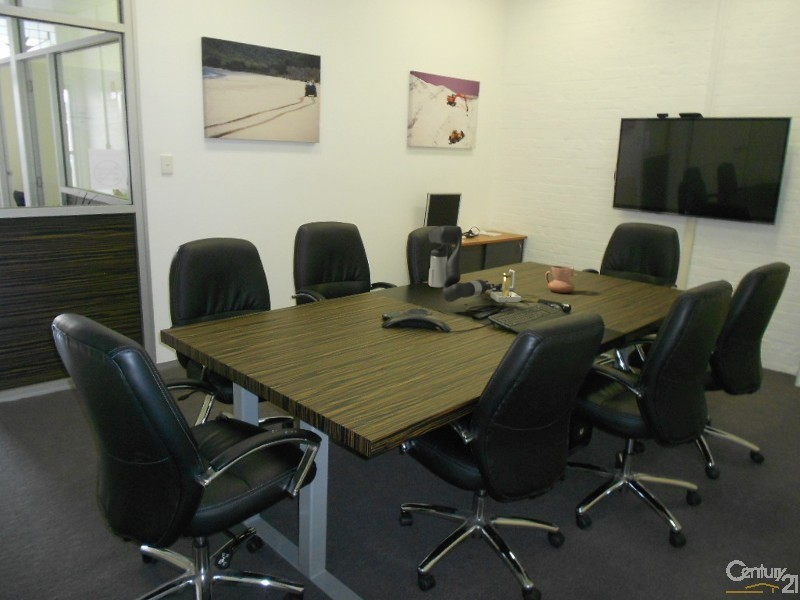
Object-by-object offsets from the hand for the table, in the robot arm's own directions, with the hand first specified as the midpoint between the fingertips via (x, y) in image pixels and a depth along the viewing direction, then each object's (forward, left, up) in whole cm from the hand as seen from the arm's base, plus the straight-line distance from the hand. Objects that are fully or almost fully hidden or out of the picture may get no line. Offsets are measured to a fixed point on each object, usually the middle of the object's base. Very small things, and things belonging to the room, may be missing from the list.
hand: (494, 284), depth 297 cm
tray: (+9, +6, -10) cm, 15 cm away
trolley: (+12, +17, -10) cm, 23 cm away
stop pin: (+9, +6, -9) cm, 14 cm away
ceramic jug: (+48, +24, -10) cm, 55 cm away
